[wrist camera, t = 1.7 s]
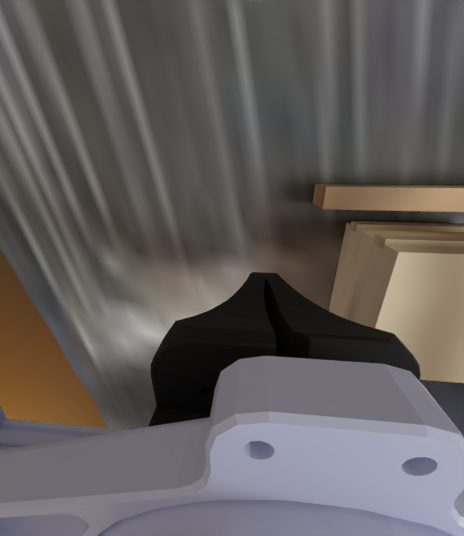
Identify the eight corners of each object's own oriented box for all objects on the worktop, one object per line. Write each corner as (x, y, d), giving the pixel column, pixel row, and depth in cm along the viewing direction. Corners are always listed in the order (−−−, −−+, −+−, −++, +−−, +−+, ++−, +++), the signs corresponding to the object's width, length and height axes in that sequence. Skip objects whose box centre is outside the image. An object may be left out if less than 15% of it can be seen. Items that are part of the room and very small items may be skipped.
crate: (466, 220, 12) (596, 251, 7) (425, 318, 15) (504, 386, 10) (345, 218, 13) (397, 245, 8) (326, 312, 15) (357, 374, 10)
